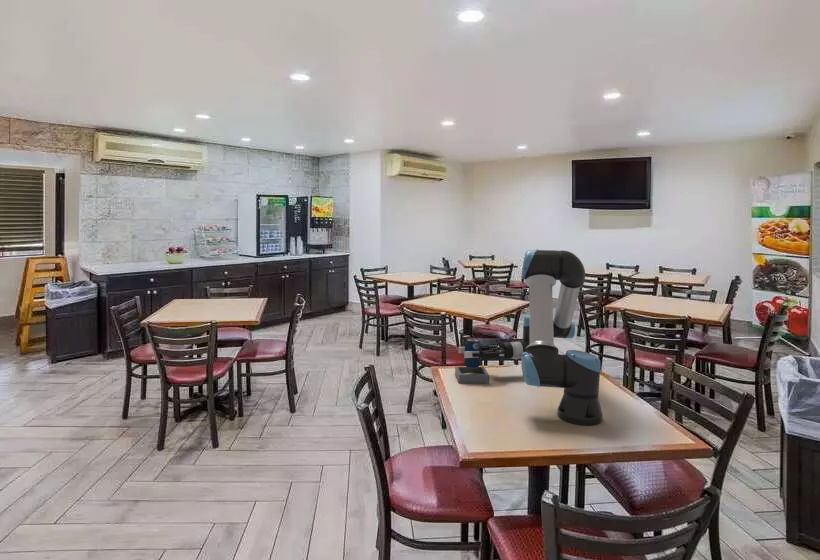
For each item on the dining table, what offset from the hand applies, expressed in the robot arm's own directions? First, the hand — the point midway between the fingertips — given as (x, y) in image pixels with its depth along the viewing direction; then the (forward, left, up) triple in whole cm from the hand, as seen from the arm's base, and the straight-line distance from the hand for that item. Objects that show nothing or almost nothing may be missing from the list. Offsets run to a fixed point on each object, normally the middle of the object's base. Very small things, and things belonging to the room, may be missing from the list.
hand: (461, 352), depth 219 cm
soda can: (+4, -3, -7) cm, 8 cm away
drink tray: (+4, -3, -12) cm, 13 cm away
